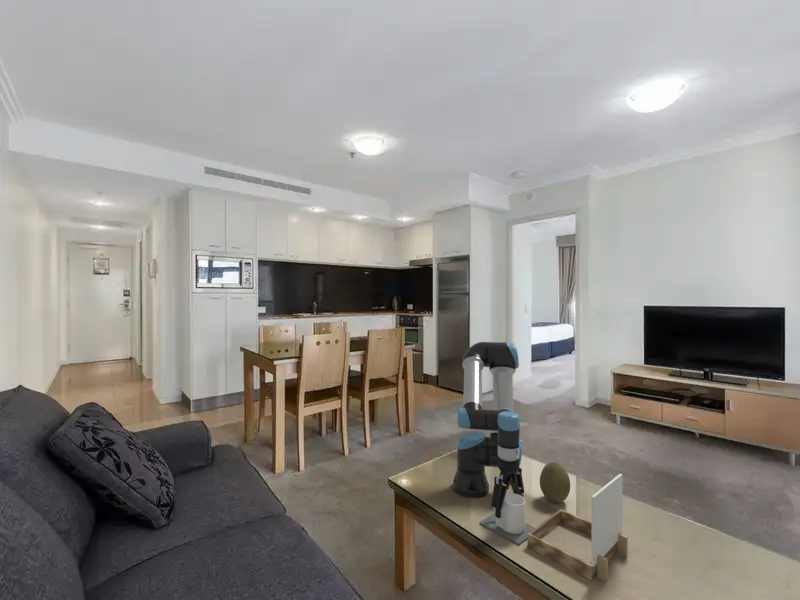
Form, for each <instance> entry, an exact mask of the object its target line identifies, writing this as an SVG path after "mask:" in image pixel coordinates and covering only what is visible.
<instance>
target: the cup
mask: <svg viewBox="0 0 800 600" xmlns="http://www.w3.org/2000/svg"><path fill="white" fill-rule="evenodd" d="M502 508H504V527H503V528H502V529H503V530H504V531H506V532H508V533H511V534H521V533H522V532H523V531H524V529H525V523H526V499H525V498H524V497H522V496H521V495H518V494H515V493H514V492H506V495H505V499H504V502H503V506H502ZM493 510H494V512H495V508H493Z"/></svg>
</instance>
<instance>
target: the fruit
mask: <svg viewBox="0 0 800 600" xmlns="http://www.w3.org/2000/svg"><path fill="white" fill-rule="evenodd" d="M539 487H540V490H541V493H542V494H543V496H544V497H545V498H546V499H547V500H548V501H550V502H552V503H553V502H554V503H561V502H564V501H565V500H566V499H567V498H568V497H569V495H570V490H571V479H570V476H569V474H568V471H567V470H566V468H565V467H564V466H563V465H562V464H560V463H558V462H553V461H552V462H548V463H546V464H545V465H544V466H543V469H542V470H541V473H540V476H539Z"/></svg>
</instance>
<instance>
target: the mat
mask: <svg viewBox="0 0 800 600" xmlns="http://www.w3.org/2000/svg"><path fill="white" fill-rule="evenodd" d="M478 523H480V524H479V525H481V524H482V525H481V526H483V527H484V526H485V528H486V527H487V528H486V529H488V528H489V529H488V530H490V531H492V532H494V533H496V534H497V535H499V536H501V537H503V538H505V539H506V538H507V540H508V539H509V540H508V541H511V542H513V543H514V544H516V545H517V544H518V545H517V546H520V545H522V544H523V543H524V542H526V541H528V533H530V532H531V531H532V530H533V529H535V528H536V527H534V526H532V525H530V524H528V523H526V522H525V529H524V531H523V532H522V533H521V534H511V533H508V532H506V531H504V530H503V529H502V528H501V527H499V526H497V525H496V516H495V512H493V513H491V514H489V515H488V516H487V517H485V518H483V519H482V520H480V521H479V522H478Z"/></svg>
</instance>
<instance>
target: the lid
mask: <svg viewBox="0 0 800 600" xmlns="http://www.w3.org/2000/svg"><path fill="white" fill-rule="evenodd" d="M591 522H592V535H591V547H590V548H591V552H590V554H591V557H590V558H591V561H590V562H591V566H593V567H595V565H596V564H597V574H596V575H597V578H598V579H600V580H602V581H604V582H607V581H608V580H609V567H608V566H609V560H608V559H607V558H605V557H604V556H605V554H606V553H607V552H608V551H609V550H610V549H611V548H612V547H613V546H614V545H615V543H616V542H617V541H618V550H617V554H619V555H621V556H623V557H625V558H627V557H628V555H629V554H628V553H629V546H628V545H629V536H628V535H625V534H623V474H622V473H619V474H618V475H616V476H615V477H613V479H612V480H611V481H610V480H609V482H608V483H606V484H605V485H604V486H603V487H601V488H600V489H599V490H598V491H597V492H595V493H594V494H593V495H592V496H591Z"/></svg>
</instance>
